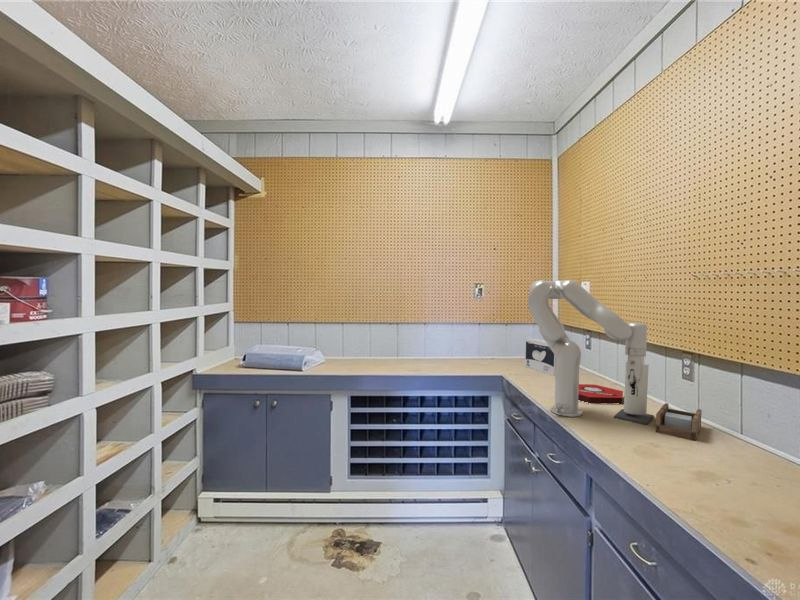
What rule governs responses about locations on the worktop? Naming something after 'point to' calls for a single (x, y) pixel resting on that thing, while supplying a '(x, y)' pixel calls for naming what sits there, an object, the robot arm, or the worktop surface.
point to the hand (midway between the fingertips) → (634, 394)
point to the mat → (634, 417)
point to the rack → (677, 431)
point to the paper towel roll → (636, 394)
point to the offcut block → (678, 421)
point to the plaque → (599, 394)
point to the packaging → (539, 356)
